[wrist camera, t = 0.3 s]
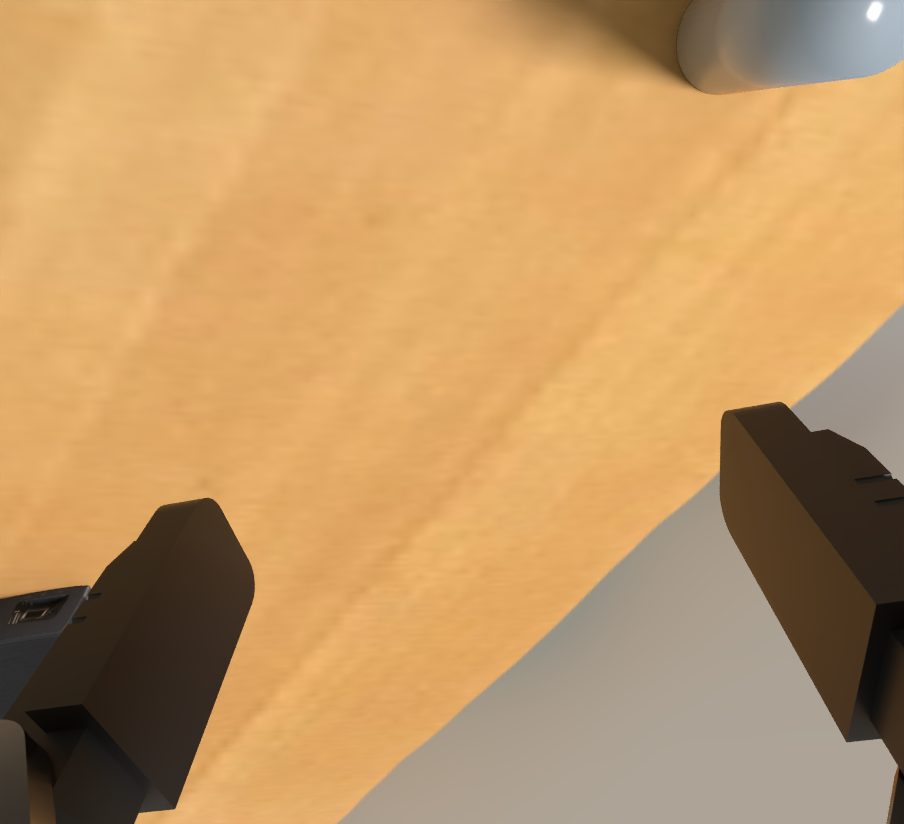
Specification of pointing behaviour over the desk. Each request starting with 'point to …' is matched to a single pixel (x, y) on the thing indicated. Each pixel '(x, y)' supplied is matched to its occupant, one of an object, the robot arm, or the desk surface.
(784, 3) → the pale blue cylinder
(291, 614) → the desk surface
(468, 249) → the desk surface
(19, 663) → the external hard drive
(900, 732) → the robot arm
